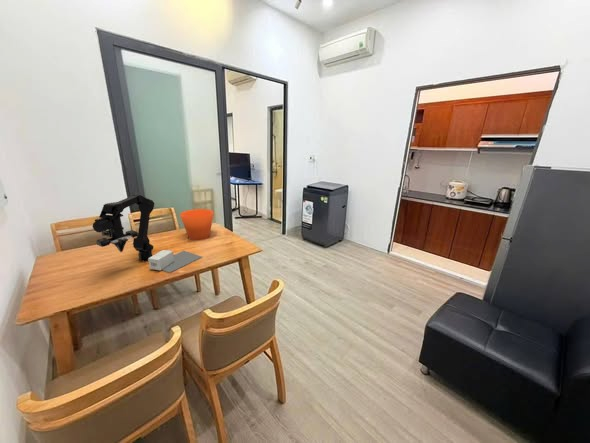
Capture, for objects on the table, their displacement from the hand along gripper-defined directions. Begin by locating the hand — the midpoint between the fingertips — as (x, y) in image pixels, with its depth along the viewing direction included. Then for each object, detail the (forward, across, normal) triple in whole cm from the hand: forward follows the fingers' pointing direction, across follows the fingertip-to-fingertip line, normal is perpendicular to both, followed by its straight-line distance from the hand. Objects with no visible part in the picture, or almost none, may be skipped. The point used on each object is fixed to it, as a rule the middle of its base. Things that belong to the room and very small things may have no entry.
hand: (121, 251), depth 136 cm
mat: (+13, -24, +14) cm, 31 cm away
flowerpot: (+13, -61, -9) cm, 63 cm away
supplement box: (+9, -9, +13) cm, 18 cm away
